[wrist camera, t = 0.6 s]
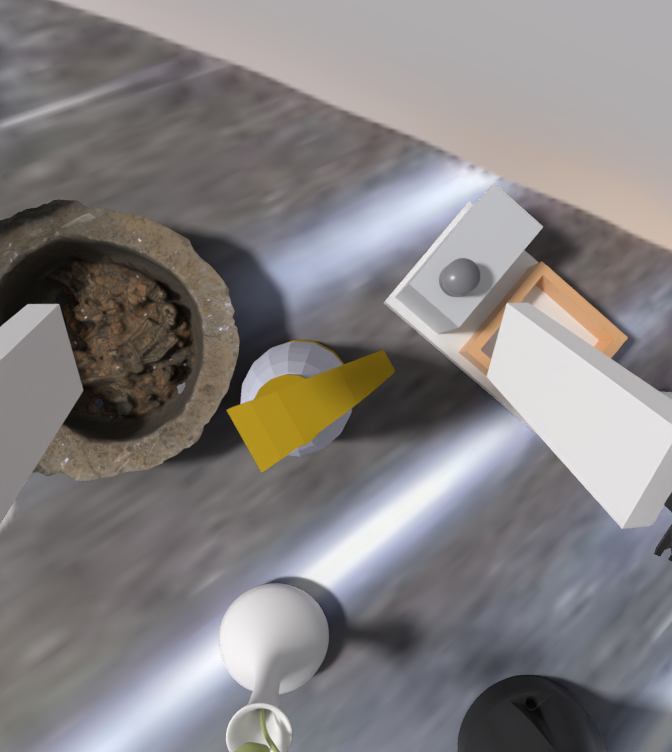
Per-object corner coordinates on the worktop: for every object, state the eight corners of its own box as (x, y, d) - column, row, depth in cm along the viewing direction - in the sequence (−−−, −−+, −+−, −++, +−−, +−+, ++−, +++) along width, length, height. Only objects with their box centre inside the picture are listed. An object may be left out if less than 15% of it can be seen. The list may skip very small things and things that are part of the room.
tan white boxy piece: (614, 336, 48) (693, 327, 38) (534, 432, 48) (592, 449, 38) (466, 204, 47) (506, 160, 37) (383, 302, 47) (402, 284, 37)
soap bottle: (374, 411, 47) (449, 463, 21) (280, 463, 46) (235, 584, 20) (324, 320, 46) (336, 254, 20) (229, 371, 46) (115, 373, 20)
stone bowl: (-46, 308, 44) (-134, 286, 35) (171, 195, 47) (143, 146, 38) (81, 513, 45) (27, 544, 36) (288, 388, 48) (288, 387, 38)
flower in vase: (209, 666, 46) (86, 1013, 21) (238, 564, 46) (149, 790, 21) (326, 694, 47) (340, 1063, 22) (355, 593, 47) (401, 848, 22)
